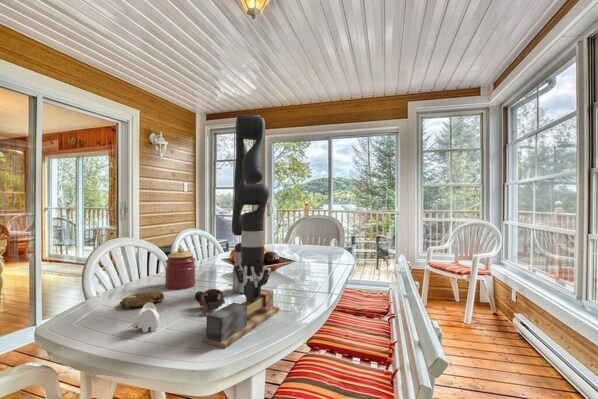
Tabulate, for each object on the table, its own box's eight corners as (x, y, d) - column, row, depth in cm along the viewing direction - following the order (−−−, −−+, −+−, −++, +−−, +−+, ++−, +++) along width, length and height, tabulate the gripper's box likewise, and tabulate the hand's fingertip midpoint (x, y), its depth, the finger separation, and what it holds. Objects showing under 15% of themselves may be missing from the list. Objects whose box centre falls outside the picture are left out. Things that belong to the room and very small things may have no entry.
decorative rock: (160, 297, 122) (117, 306, 113) (159, 287, 122) (117, 295, 113) (168, 303, 114) (123, 313, 104) (168, 292, 114) (123, 301, 104)
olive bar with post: (231, 325, 85) (231, 293, 85) (223, 323, 86) (223, 292, 86) (263, 305, 101) (263, 279, 101) (256, 304, 102) (256, 278, 102)
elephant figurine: (129, 327, 91) (129, 304, 92) (163, 322, 95) (163, 300, 95) (126, 338, 84) (126, 312, 85) (163, 332, 88) (163, 308, 88)
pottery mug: (229, 306, 112) (230, 290, 108) (216, 326, 104) (216, 309, 100) (201, 295, 114) (200, 280, 110) (186, 314, 106) (185, 298, 102)
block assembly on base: (225, 348, 79) (225, 319, 79) (202, 342, 82) (202, 314, 82) (279, 310, 106) (279, 289, 106) (260, 307, 109) (260, 286, 109)
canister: (159, 286, 136) (160, 247, 136) (186, 280, 146) (186, 244, 146) (173, 291, 127) (173, 250, 128) (200, 285, 137) (201, 247, 137)
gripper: (228, 244, 97) (227, 297, 97) (265, 247, 91) (264, 304, 91) (241, 241, 104) (241, 291, 104) (276, 244, 98) (276, 297, 98)
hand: (252, 297), depth 97 cm, fingers closed on olive bar with post, 3 cm apart
